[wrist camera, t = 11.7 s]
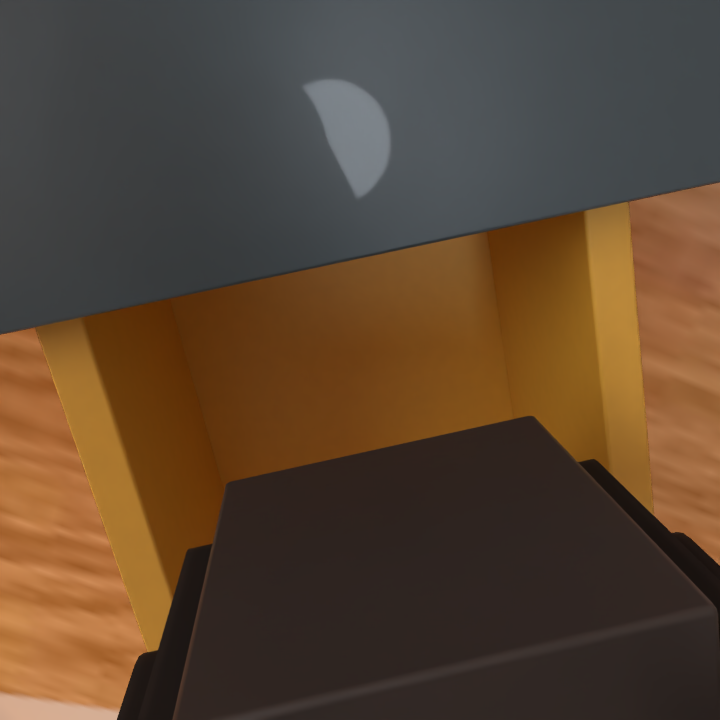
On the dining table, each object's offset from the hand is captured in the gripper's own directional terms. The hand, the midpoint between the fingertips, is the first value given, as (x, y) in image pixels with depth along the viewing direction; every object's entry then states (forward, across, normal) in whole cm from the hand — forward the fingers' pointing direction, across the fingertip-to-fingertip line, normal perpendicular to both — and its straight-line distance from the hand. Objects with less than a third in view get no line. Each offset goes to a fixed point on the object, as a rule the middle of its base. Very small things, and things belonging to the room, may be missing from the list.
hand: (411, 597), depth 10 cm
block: (0, 0, 0) cm, 0 cm away
